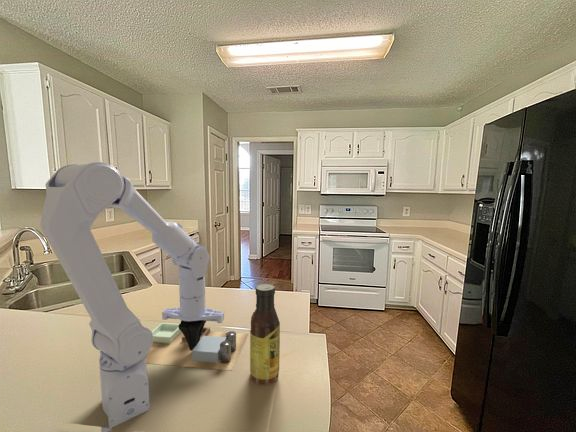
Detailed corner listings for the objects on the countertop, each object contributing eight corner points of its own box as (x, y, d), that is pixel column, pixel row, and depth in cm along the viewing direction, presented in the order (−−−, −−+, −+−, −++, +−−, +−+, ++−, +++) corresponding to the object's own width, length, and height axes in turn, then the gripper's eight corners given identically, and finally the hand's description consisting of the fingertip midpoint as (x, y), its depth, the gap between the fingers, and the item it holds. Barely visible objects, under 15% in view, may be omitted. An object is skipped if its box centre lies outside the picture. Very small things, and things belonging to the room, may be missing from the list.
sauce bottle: (275, 391, 50) (275, 295, 48) (245, 385, 52) (244, 292, 50) (282, 368, 57) (283, 283, 55) (256, 364, 58) (255, 280, 56)
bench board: (248, 336, 69) (248, 329, 69) (232, 373, 55) (232, 365, 55) (162, 330, 71) (161, 324, 71) (125, 364, 57) (125, 356, 57)
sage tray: (183, 330, 70) (183, 324, 70) (170, 344, 64) (170, 337, 64) (161, 328, 71) (161, 322, 71) (146, 342, 65) (146, 335, 64)
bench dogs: (237, 346, 63) (237, 331, 63) (229, 364, 57) (228, 347, 56) (228, 346, 63) (227, 331, 63) (218, 363, 57) (218, 346, 57)
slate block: (226, 346, 63) (226, 337, 63) (217, 362, 57) (217, 352, 57) (203, 345, 64) (203, 335, 63) (192, 360, 58) (192, 350, 57)
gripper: (228, 288, 63) (229, 340, 64) (172, 286, 64) (174, 336, 65) (217, 301, 56) (218, 358, 57) (155, 297, 57) (158, 354, 58)
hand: (194, 348), depth 61 cm, fingers closed
